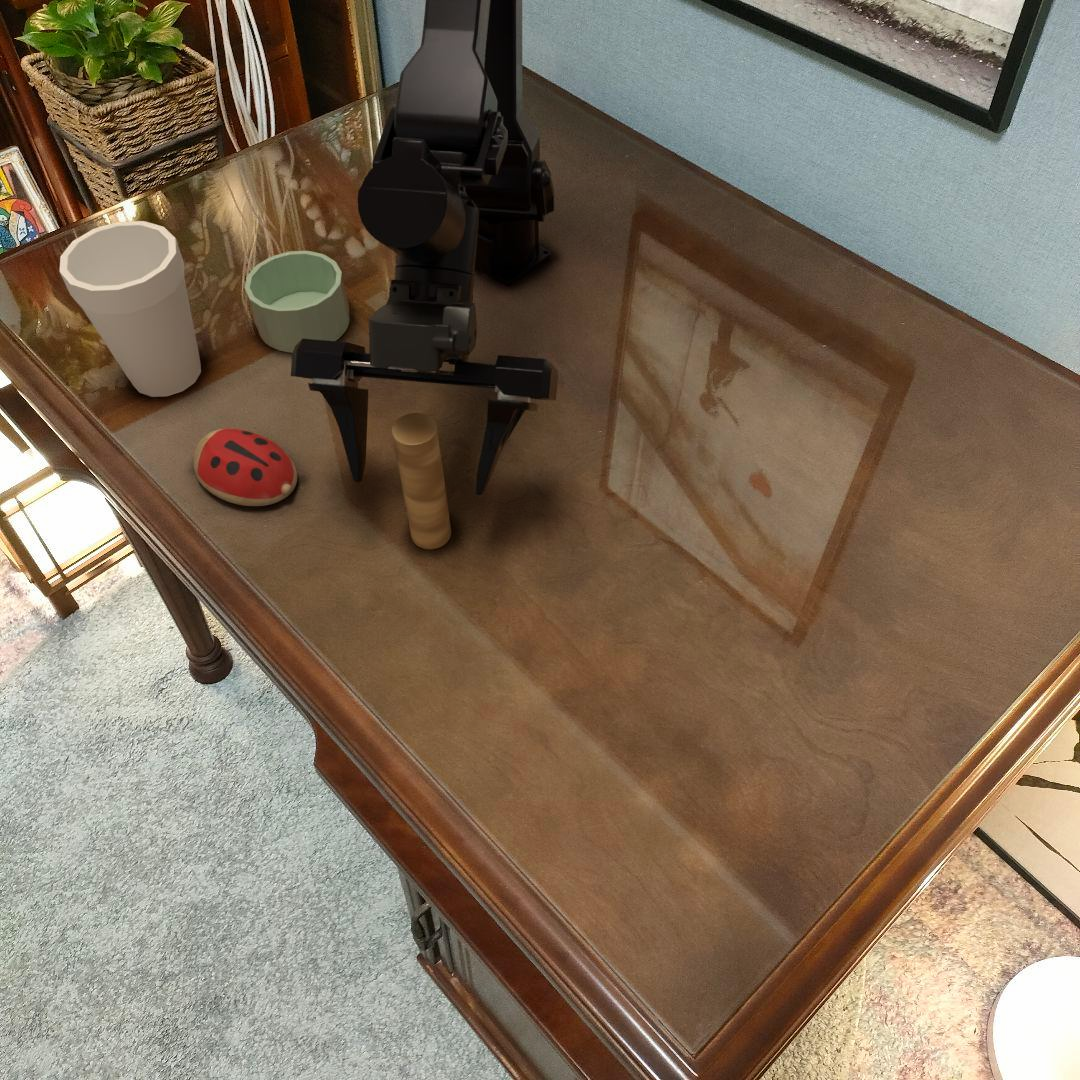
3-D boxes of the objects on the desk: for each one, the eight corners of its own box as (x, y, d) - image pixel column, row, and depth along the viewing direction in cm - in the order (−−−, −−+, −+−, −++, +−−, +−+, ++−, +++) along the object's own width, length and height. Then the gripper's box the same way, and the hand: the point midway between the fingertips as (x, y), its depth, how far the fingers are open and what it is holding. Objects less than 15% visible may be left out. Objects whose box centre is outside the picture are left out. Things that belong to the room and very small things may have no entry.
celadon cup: (310, 281, 102) (300, 239, 98) (368, 319, 98) (360, 276, 94) (239, 325, 98) (225, 282, 94) (297, 366, 94) (286, 323, 90)
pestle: (431, 512, 83) (415, 405, 74) (459, 532, 82) (446, 426, 72) (403, 535, 82) (382, 429, 72) (430, 556, 80) (413, 451, 71)
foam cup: (192, 415, 90) (145, 297, 80) (96, 402, 92) (38, 284, 81) (233, 345, 96) (194, 226, 86) (142, 333, 97) (93, 215, 87)
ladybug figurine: (229, 432, 89) (218, 402, 86) (320, 472, 86) (312, 443, 83) (177, 482, 85) (164, 453, 83) (270, 526, 82) (260, 497, 80)
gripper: (268, 244, 67) (254, 482, 68) (551, 265, 65) (529, 509, 67) (323, 270, 78) (310, 474, 79) (566, 289, 76) (547, 498, 78)
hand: (418, 488), depth 75 cm, fingers open, 9 cm apart
